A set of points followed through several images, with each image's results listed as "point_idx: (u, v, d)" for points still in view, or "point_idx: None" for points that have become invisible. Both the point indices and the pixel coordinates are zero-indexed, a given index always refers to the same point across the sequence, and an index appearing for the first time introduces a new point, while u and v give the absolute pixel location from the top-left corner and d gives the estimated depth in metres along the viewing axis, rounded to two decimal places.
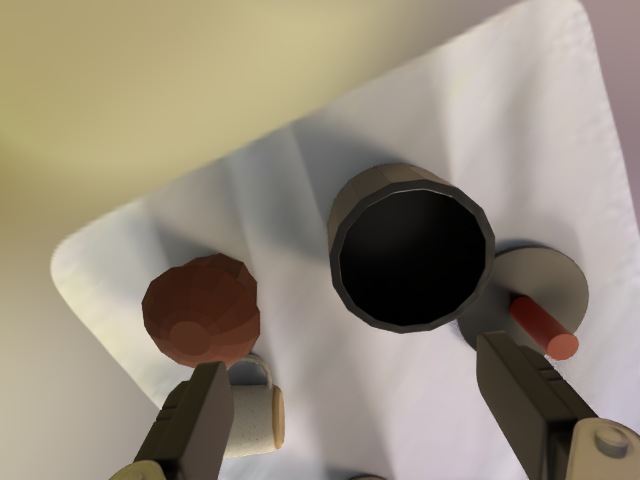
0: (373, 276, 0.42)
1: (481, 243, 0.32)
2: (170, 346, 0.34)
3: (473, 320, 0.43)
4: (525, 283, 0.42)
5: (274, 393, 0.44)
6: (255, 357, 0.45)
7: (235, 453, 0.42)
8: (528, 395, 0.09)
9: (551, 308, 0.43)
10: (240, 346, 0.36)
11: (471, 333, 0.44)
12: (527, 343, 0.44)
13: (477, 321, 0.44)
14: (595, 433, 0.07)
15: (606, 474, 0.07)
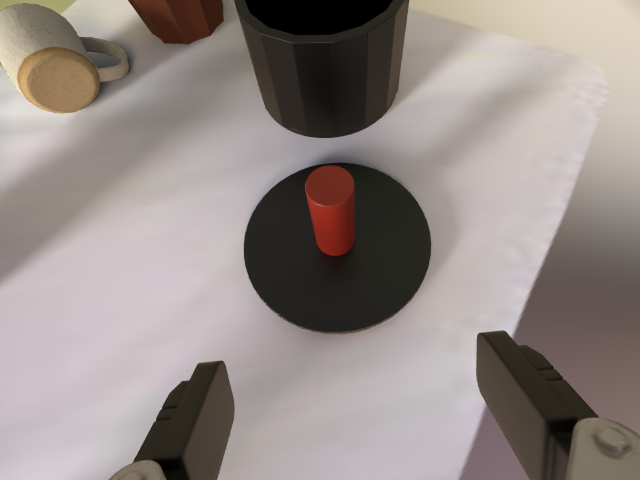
0: None
1: None
2: None
3: (283, 200, 0.32)
4: (365, 216, 0.30)
5: (93, 65, 0.37)
6: (127, 62, 0.41)
7: (4, 30, 0.35)
8: (528, 395, 0.09)
9: (358, 272, 0.28)
10: None
11: (266, 211, 0.31)
12: (294, 283, 0.28)
13: (285, 205, 0.31)
14: (595, 433, 0.07)
15: (606, 474, 0.07)
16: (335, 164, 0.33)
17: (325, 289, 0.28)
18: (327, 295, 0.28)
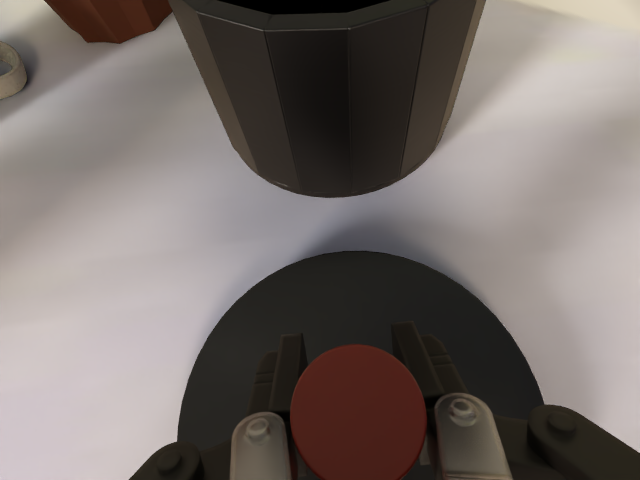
0: None
1: None
2: None
3: (257, 328, 0.17)
4: None
5: None
6: (22, 70, 0.27)
7: None
8: None
9: None
10: None
11: (223, 350, 0.17)
12: None
13: (260, 339, 0.17)
14: (452, 406, 0.09)
15: (467, 443, 0.08)
16: (351, 254, 0.18)
17: None
18: None
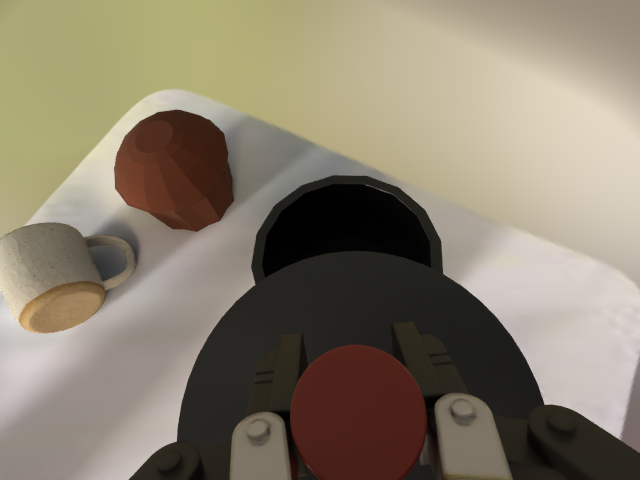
0: None
1: None
2: (138, 128, 0.35)
3: (257, 329, 0.17)
4: None
5: (99, 285, 0.35)
6: (134, 259, 0.39)
7: (5, 265, 0.33)
8: None
9: None
10: (160, 185, 0.33)
11: (223, 351, 0.17)
12: None
13: (260, 339, 0.17)
14: (451, 406, 0.09)
15: (468, 443, 0.08)
16: (351, 254, 0.18)
17: None
18: None
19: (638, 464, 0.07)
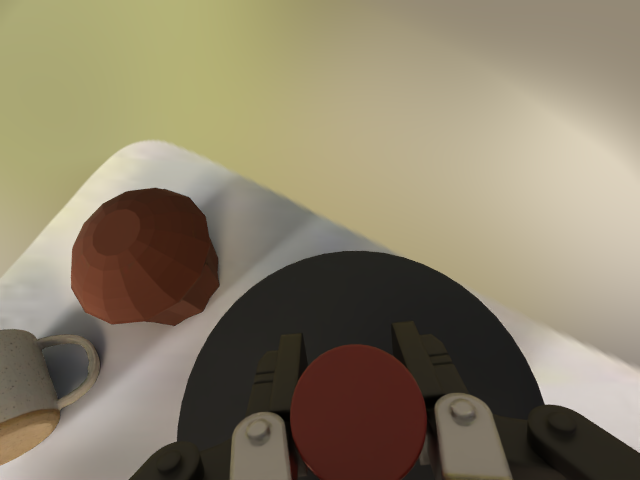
0: None
1: None
2: (97, 219, 0.28)
3: (257, 329, 0.17)
4: None
5: (49, 411, 0.29)
6: (97, 365, 0.32)
7: None
8: None
9: None
10: (123, 296, 0.27)
11: (223, 351, 0.17)
12: None
13: (260, 339, 0.17)
14: (451, 406, 0.09)
15: (468, 443, 0.08)
16: (351, 254, 0.18)
17: None
18: None
19: (638, 464, 0.07)
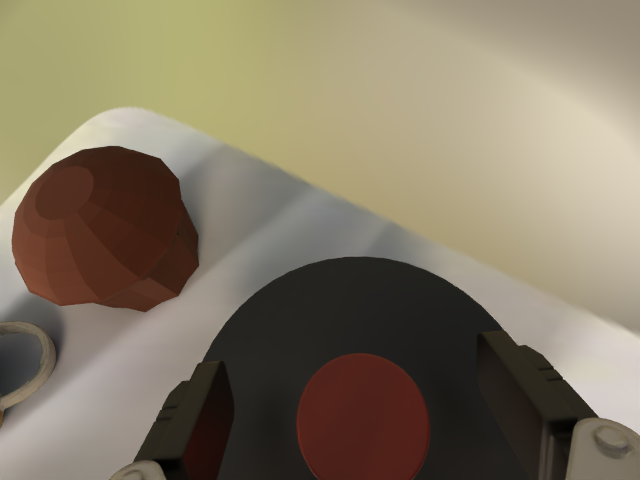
0: None
1: None
2: (43, 178, 0.23)
3: (261, 334, 0.17)
4: (416, 374, 0.16)
5: None
6: (52, 357, 0.27)
7: None
8: (528, 395, 0.09)
9: None
10: (70, 269, 0.22)
11: (227, 356, 0.17)
12: None
13: (264, 344, 0.17)
14: (595, 433, 0.07)
15: (606, 474, 0.07)
16: (354, 259, 0.18)
17: None
18: None
19: None
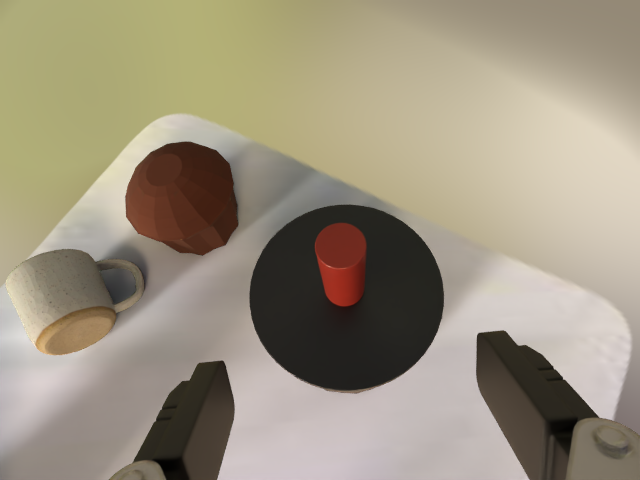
0: None
1: None
2: (148, 161, 0.37)
3: (290, 245, 0.31)
4: (375, 263, 0.29)
5: (110, 309, 0.37)
6: (143, 283, 0.41)
7: (22, 292, 0.35)
8: (528, 395, 0.09)
9: (368, 323, 0.27)
10: (169, 217, 0.35)
11: (272, 257, 0.30)
12: (302, 336, 0.27)
13: (292, 251, 0.30)
14: (595, 433, 0.07)
15: (606, 474, 0.07)
16: (343, 206, 0.32)
17: (334, 343, 0.27)
18: (337, 349, 0.27)
19: None
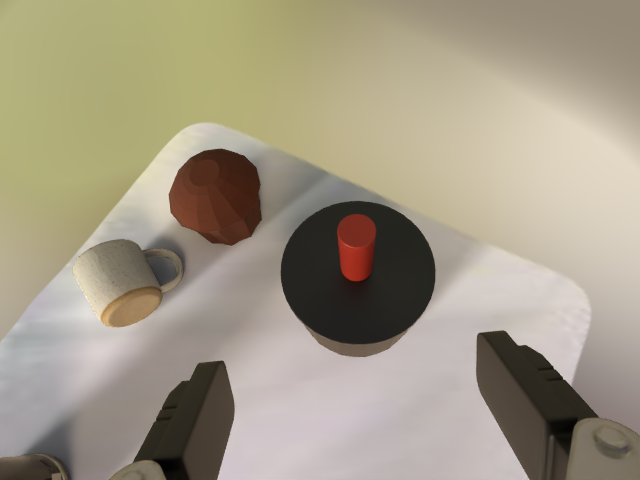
0: None
1: None
2: (190, 166, 0.44)
3: (312, 234, 0.38)
4: (381, 247, 0.37)
5: (158, 289, 0.44)
6: (182, 268, 0.48)
7: (89, 274, 0.42)
8: (528, 395, 0.09)
9: (376, 294, 0.35)
10: (209, 211, 0.43)
11: (297, 243, 0.38)
12: (323, 305, 0.35)
13: (313, 238, 0.38)
14: (595, 433, 0.07)
15: (606, 474, 0.07)
16: (354, 202, 0.39)
17: (350, 309, 0.34)
18: (351, 314, 0.34)
19: None
